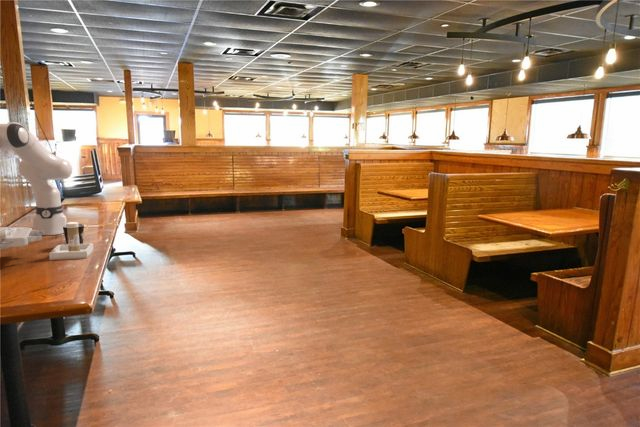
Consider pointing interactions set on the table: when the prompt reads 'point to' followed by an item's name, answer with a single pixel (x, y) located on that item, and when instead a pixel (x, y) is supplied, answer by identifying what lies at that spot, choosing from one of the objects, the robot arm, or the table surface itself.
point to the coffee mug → (80, 230)
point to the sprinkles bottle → (73, 236)
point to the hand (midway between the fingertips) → (43, 235)
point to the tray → (64, 253)
